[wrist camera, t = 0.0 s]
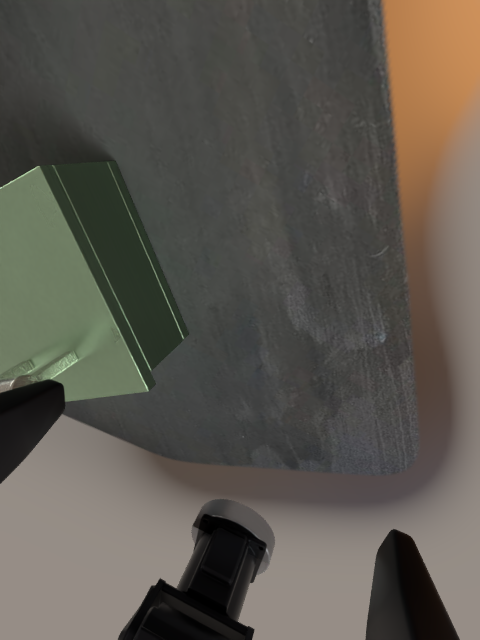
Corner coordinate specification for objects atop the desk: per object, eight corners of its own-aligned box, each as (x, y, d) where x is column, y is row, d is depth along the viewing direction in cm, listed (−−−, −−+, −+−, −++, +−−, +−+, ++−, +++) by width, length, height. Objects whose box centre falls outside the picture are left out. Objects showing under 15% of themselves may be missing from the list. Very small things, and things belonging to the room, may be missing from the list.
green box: (189, 334, 25) (151, 371, 21) (67, 358, 31) (18, 392, 26) (115, 160, 22) (52, 164, 18) (-8, 223, 27) (-77, 237, 23)
